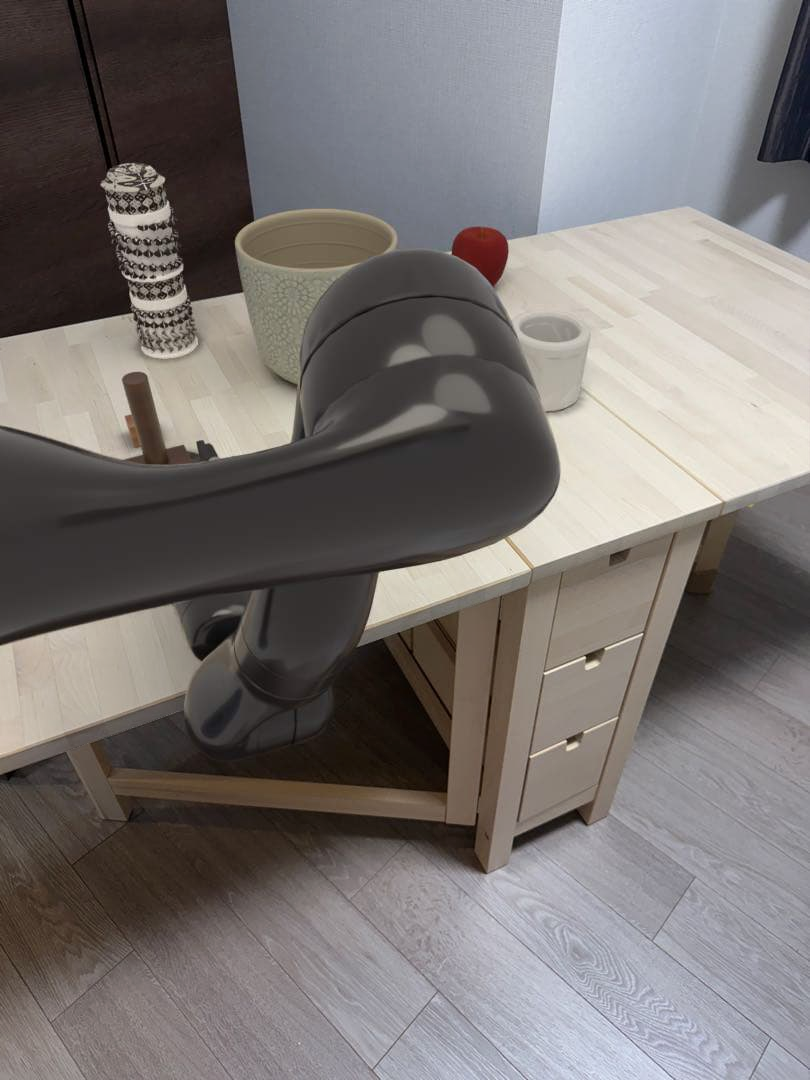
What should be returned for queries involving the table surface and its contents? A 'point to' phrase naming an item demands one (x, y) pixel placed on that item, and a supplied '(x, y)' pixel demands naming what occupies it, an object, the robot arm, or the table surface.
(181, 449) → the wooden peg
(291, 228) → the planter
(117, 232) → the white patterned cylinder
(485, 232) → the apple
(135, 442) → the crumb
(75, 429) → the table surface
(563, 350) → the mug
